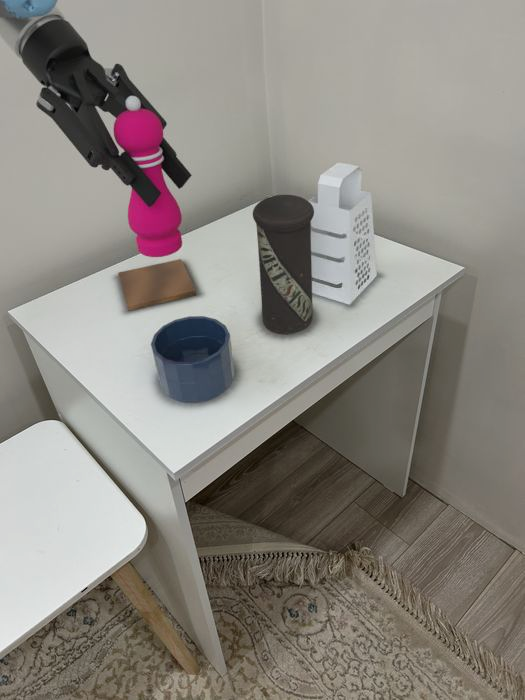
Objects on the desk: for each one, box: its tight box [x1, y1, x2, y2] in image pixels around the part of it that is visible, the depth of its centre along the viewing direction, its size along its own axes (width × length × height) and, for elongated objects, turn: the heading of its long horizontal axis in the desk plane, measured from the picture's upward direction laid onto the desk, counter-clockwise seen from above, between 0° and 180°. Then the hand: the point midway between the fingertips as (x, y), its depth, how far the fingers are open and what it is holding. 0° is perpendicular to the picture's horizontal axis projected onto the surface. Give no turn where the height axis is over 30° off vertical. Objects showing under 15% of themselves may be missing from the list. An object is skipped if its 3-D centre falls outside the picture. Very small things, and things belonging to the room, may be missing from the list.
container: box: [252, 194, 314, 335], centre depth 82 cm, size 9×9×20 cm
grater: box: [307, 162, 378, 305], centre depth 90 cm, size 10×10×20 cm
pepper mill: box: [112, 96, 183, 258], centre depth 71 cm, size 7×7×20 cm
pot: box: [150, 315, 235, 404], centre depth 76 cm, size 11×11×7 cm
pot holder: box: [117, 258, 197, 312], centre depth 98 cm, size 12×12×1 cm
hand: (170, 190), depth 70 cm, fingers closed on pepper mill, 5 cm apart
